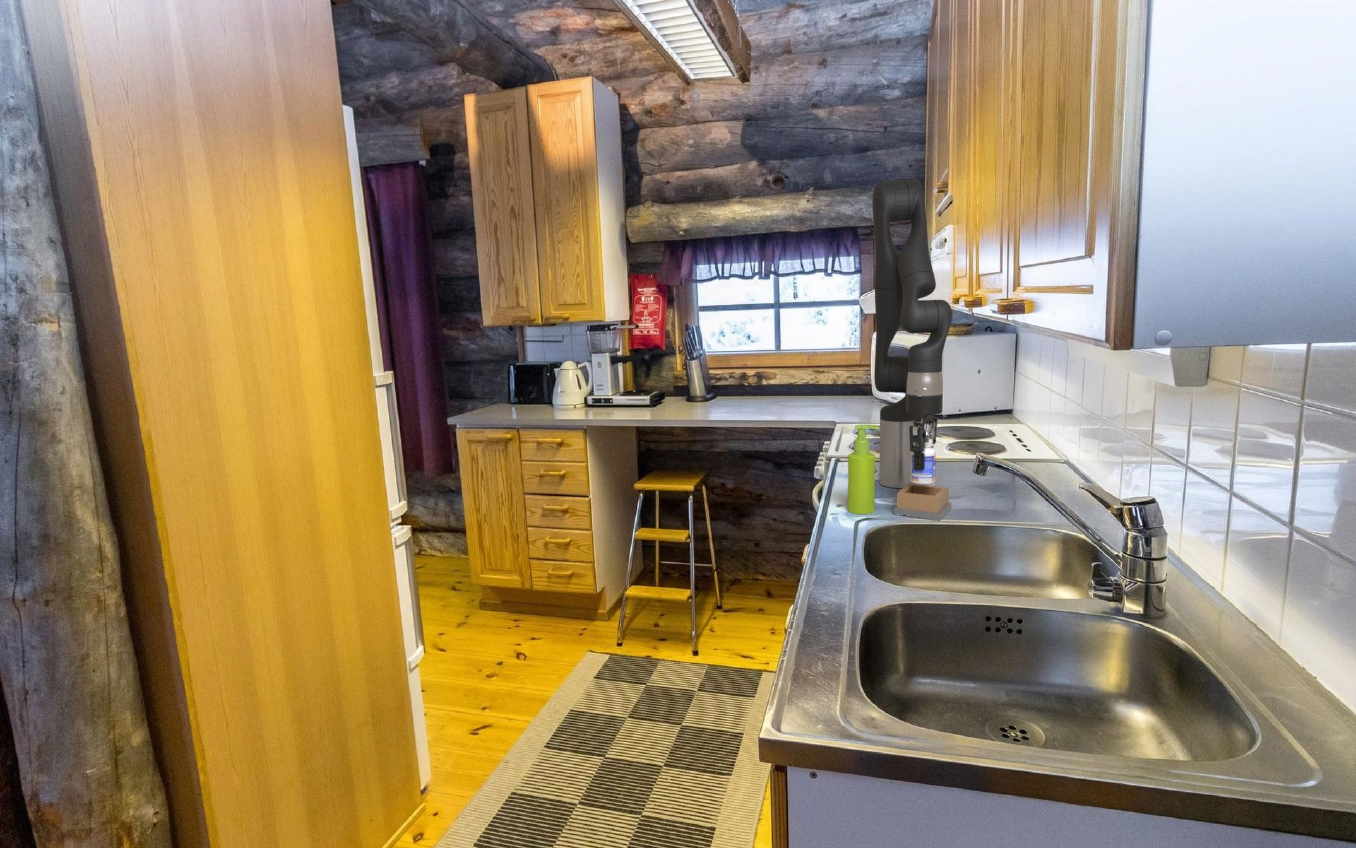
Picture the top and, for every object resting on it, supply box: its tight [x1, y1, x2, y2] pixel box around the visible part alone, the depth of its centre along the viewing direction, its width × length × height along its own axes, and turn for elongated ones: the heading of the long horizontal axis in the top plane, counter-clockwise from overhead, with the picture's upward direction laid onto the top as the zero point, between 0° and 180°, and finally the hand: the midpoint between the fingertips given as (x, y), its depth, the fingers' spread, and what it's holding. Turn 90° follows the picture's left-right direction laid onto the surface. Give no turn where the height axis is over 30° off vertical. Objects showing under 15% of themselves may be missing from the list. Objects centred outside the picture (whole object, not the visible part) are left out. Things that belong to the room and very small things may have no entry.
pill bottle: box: [910, 438, 937, 485], centre depth 156 cm, size 5×5×10 cm
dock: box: [893, 484, 952, 521], centre depth 158 cm, size 10×10×5 cm
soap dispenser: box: [847, 424, 880, 515], centre depth 159 cm, size 6×7×20 cm
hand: (922, 466), depth 156 cm, fingers closed on pill bottle, 5 cm apart
